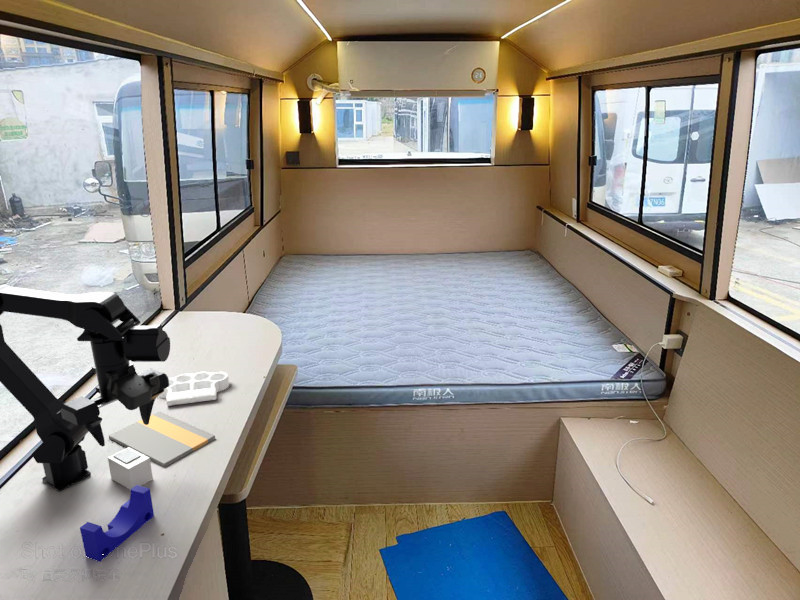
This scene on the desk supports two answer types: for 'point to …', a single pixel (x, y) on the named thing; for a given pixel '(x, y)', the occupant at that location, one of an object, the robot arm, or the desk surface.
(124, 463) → the white block
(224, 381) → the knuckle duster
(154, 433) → the grey flat board
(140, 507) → the blue cradle bracket
